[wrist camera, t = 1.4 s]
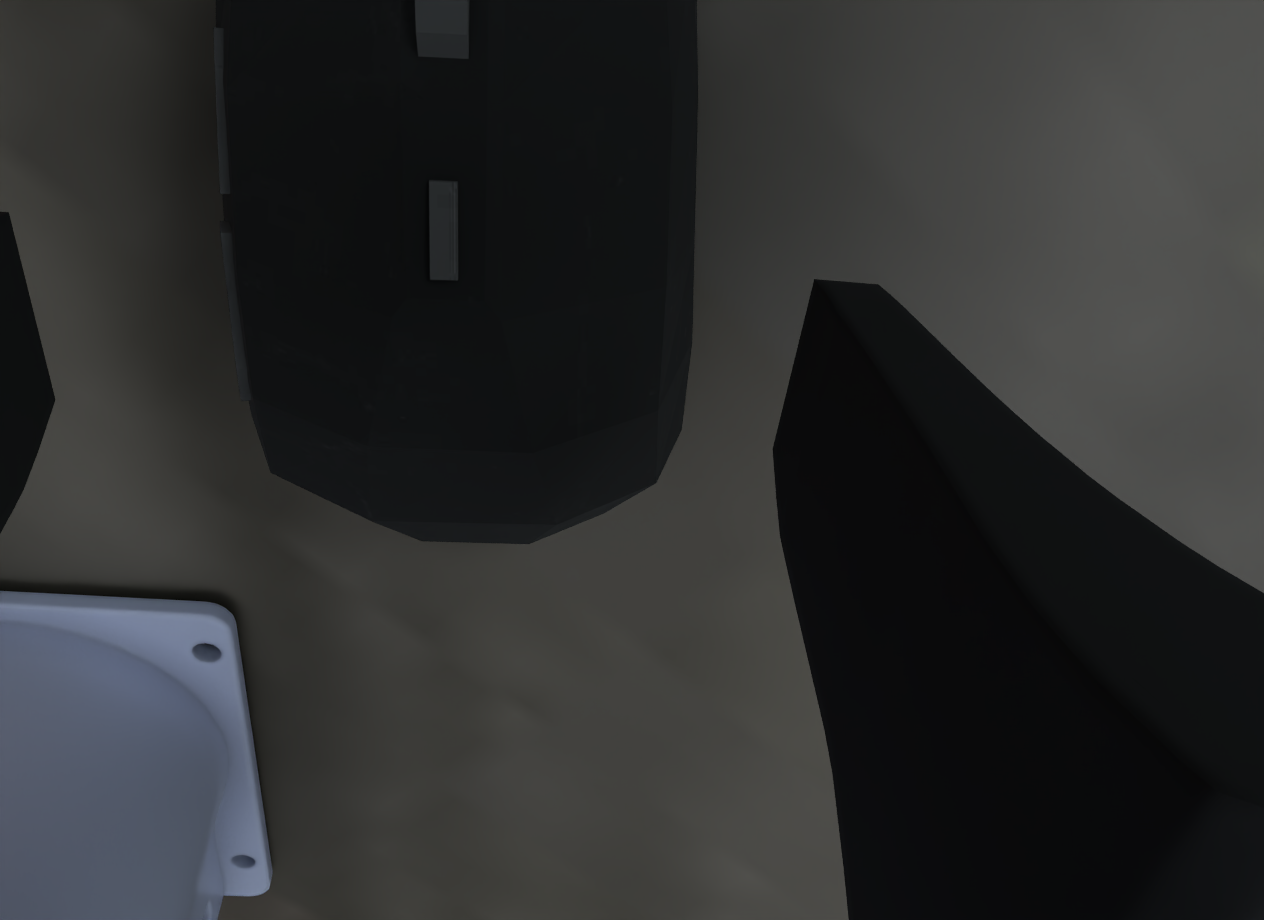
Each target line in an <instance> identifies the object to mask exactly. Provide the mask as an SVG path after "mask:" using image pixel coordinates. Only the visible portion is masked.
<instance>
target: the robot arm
mask: <svg viewBox="0 0 1264 920" xmlns="http://www.w3.org/2000/svg"><path fill="white" fill-rule="evenodd" d="M54 402H55V396H54V392H53V388H52V384H51V380H50V376H49V372H48V368H47V364H46V360H45V356H44V352H43V348H42V344H41V340H40V336H39V332H38V328H37V324H36V320H35V316H34V312H33V308H32V304H31V300H30V296H29V292H28V288H27V284H26V280H25V276H24V272H23V268H22V264H21V260H20V256H19V252H18V248H17V244H16V240H15V236H14V232H13V228H12V224H11V220H10V216H9V212H0V533H1V531H2V529H3V528H4V526H5V524H6V522H7V520H8V518H9V517H10V515H11V513H12V511H13V509H14V507H15V505H16V503H17V501H18V499H19V498H20V496H21V494H22V492H23V490H24V487H25V484H26V482H27V479H28V477H29V474H30V471H31V469H32V466H33V463H34V461H35V458H36V456H37V453H38V450H39V447H40V444H41V441H42V438H43V435H44V432H45V429H46V426H47V423H48V420H49V417H50V414H51V411H52V408H53V405H54ZM773 459H774V472H775V485H776V499H777V509H778V519H779V529H780V538H781V543H782V547H783V552H784V557H785V561H786V566H787V570H788V574H789V579H790V583H791V588H792V592H793V597H794V601H795V605H796V610H797V614H798V618H799V623H800V627H801V631H802V635H803V640H804V644H805V648H806V653H807V657H808V661H809V665H810V670H811V674H812V678H813V682H814V687H815V691H816V695H817V700H818V704H819V708H820V712H821V717H822V721H823V725H824V730H825V735H826V741H827V746H828V751H829V757H830V762H831V768H832V773H833V781H834V790H835V798H836V807H837V815H838V824H839V832H840V840H841V849H842V857H843V866H844V876H845V886H846V896H847V906H848V916H849V920H1264V593H1262V592H1261V591H1259V590H1257V589H1256V588H1254V587H1252V586H1250V585H1249V584H1247V583H1245V582H1244V581H1242V580H1240V579H1239V578H1237V577H1235V576H1234V575H1232V574H1230V573H1228V572H1227V571H1225V570H1223V569H1222V568H1220V567H1218V566H1217V565H1215V564H1214V563H1212V562H1211V561H1209V560H1207V559H1206V558H1204V557H1203V556H1201V555H1200V554H1198V553H1197V552H1195V551H1193V550H1192V549H1190V548H1189V547H1187V546H1186V545H1184V544H1183V543H1181V542H1180V541H1178V540H1177V539H1175V538H1174V537H1172V536H1171V535H1169V534H1168V533H1167V532H1165V531H1164V530H1162V529H1161V528H1160V527H1158V526H1157V525H1155V524H1154V523H1152V522H1151V521H1150V520H1148V519H1147V518H1145V517H1144V516H1142V515H1141V514H1140V513H1138V512H1137V511H1135V510H1134V509H1132V508H1131V507H1130V506H1128V505H1127V504H1125V503H1124V502H1123V501H1121V500H1120V499H1118V498H1117V497H1116V496H1114V495H1113V494H1112V493H1110V492H1109V491H1108V490H1106V489H1105V488H1104V487H1102V486H1101V485H1100V484H1099V483H1097V482H1096V481H1095V480H1093V479H1092V478H1091V477H1089V476H1088V475H1087V474H1086V473H1084V472H1083V471H1082V470H1081V469H1080V468H1078V467H1077V466H1076V465H1075V464H1074V463H1072V462H1071V461H1070V460H1069V459H1068V458H1066V457H1065V456H1064V455H1063V454H1062V453H1060V452H1059V451H1058V450H1057V449H1055V448H1054V447H1053V446H1052V445H1051V444H1049V443H1048V442H1047V441H1046V440H1045V439H1043V438H1042V437H1041V436H1040V435H1039V434H1037V433H1036V432H1035V431H1034V430H1033V429H1032V428H1031V427H1030V426H1028V425H1027V424H1026V423H1025V422H1024V421H1023V420H1022V419H1021V418H1019V417H1018V416H1017V415H1016V414H1015V413H1014V412H1013V411H1012V410H1010V409H1009V408H1008V407H1007V406H1006V405H1005V404H1004V403H1003V402H1002V401H1001V400H1000V399H998V398H997V397H996V396H995V395H994V394H993V393H992V392H991V391H990V390H989V389H988V388H987V387H986V386H985V385H984V384H982V383H981V382H980V381H979V380H978V379H977V378H976V377H975V376H974V375H973V374H972V373H971V372H970V371H969V370H968V369H967V368H966V367H965V366H964V365H963V364H962V363H961V362H959V361H958V360H957V359H956V358H955V357H954V356H953V355H952V354H951V353H950V352H949V351H948V350H947V349H946V348H945V347H944V346H943V345H942V344H941V343H940V342H939V341H938V340H937V339H936V338H935V337H934V336H933V335H932V334H931V333H930V332H929V331H928V330H927V329H926V328H925V327H924V326H923V325H922V324H921V323H920V322H919V321H918V320H917V319H916V318H915V317H914V316H912V315H911V314H910V313H909V312H908V311H907V310H906V309H905V308H904V307H903V306H902V305H901V304H900V303H899V302H898V301H897V300H896V299H895V298H893V297H892V296H891V295H890V294H889V293H888V292H887V291H885V290H884V289H883V288H882V287H881V286H879V285H878V284H866V283H854V282H841V281H829V280H817V279H814V283H813V287H812V291H811V295H810V299H809V303H808V307H807V311H806V315H805V319H804V324H803V328H802V332H801V336H800V340H799V344H798V348H797V352H796V356H795V360H794V364H793V368H792V373H791V377H790V381H789V385H788V389H787V393H786V397H785V401H784V405H783V409H782V413H781V417H780V422H779V426H778V430H777V434H776V438H775V442H774V446H773ZM204 643H207V644H211V645H214V646H210V645H206V644H204ZM272 874H273V870H272V864H271V857H270V850H269V843H268V836H267V829H266V823H265V816H264V809H263V802H262V795H261V789H260V782H259V775H258V768H257V761H256V755H255V748H254V741H253V734H252V727H251V720H250V714H249V707H248V700H247V693H246V686H245V680H244V673H243V666H242V659H241V652H240V646H239V639H238V632H237V625H236V621H235V618H234V616H233V614H232V613H231V612H229V611H228V610H227V609H226V608H225V607H223V606H221V605H218V604H216V603H211V602H205V601H186V600H167V599H148V598H129V597H110V596H91V595H72V594H53V593H34V592H15V591H0V920H217V919H218V915H219V911H220V907H221V903H222V899H223V896H257V895H260V894H263V893H265V892H266V891H267V890H268V889H269V887H270V883H271V878H272Z"/></svg>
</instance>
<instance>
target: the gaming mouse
mask: <svg viewBox="0 0 1264 920" xmlns="http://www.w3.org/2000/svg"><path fill="white" fill-rule="evenodd" d="M213 31H214V59H215V84H216V109H217V133H218V157H219V181H220V194H223V208H224V221H220V235H221V243H222V252H223V260H224V269H225V277H226V286H227V294H228V302H229V311H230V319H231V328H232V336H233V345H234V353H235V362H236V370H237V377H238V384H239V391H240V397H241V401H249V404H250V409H251V414H252V418H253V421H254V424H255V427H256V430H257V433H258V436H259V439H260V442H261V445H262V448H263V451H264V454H265V457H266V460H267V463H268V466H269V469H270V472H271V473H272V474H275V475H277V476H279V477H281V478H283V479H285V480H287V481H289V482H291V483H293V484H295V485H297V486H299V487H302V488H304V489H306V490H308V491H310V492H312V493H314V494H316V495H318V496H320V497H322V498H324V499H326V500H329V501H331V502H333V503H335V504H337V505H339V506H341V507H343V508H345V509H347V510H349V511H351V512H353V513H355V514H358V515H360V516H362V517H364V518H366V519H368V520H370V521H372V522H375V523H377V524H380V525H383V526H385V527H388V528H390V529H393V530H395V531H398V532H400V533H403V534H405V535H408V536H411V537H413V538H416V539H418V540H421V541H436V542H472V543H509V544H530V543H532V542H535V541H537V540H540V539H542V538H545V537H547V536H550V535H552V534H554V533H557V532H559V531H562V530H564V529H567V528H569V527H572V526H574V525H576V524H579V523H581V522H584V521H586V520H589V519H591V518H594V517H596V516H598V515H601V514H603V513H605V512H607V511H609V510H610V509H612V508H614V507H615V506H617V505H619V504H621V503H622V502H624V501H626V500H628V499H629V498H631V497H633V496H635V495H636V494H638V493H640V492H641V491H643V490H645V489H647V488H648V487H650V486H652V485H654V484H655V483H656V482H657V480H658V478H659V476H660V474H661V472H662V470H663V467H664V465H665V463H666V461H667V459H668V457H669V455H670V453H671V451H672V449H673V446H674V444H675V442H676V440H677V438H678V436H679V434H680V432H681V430H682V421H683V413H684V405H685V396H686V388H687V380H688V371H689V363H690V355H691V347H692V324H693V280H694V235H695V194H696V153H697V112H698V62H697V0H216V28H215V27H214V28H213Z"/></svg>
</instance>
